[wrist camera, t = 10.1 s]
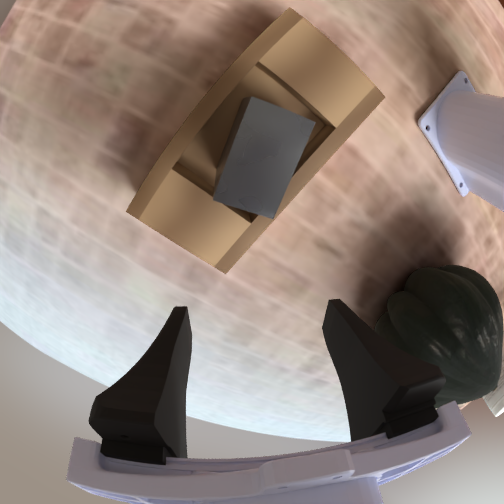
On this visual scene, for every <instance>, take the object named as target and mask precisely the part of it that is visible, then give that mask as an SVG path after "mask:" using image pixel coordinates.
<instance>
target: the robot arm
mask: <svg viewBox="0 0 504 504" xmlns="http://www.w3.org/2000/svg"><path fill="white" fill-rule="evenodd" d="M464 79H465V81H464ZM418 126H419V127H420V129H421V130H422V132H423V133H424V135H425V136H426V138H427V139H428V141H429V142H430V144H431V145H432V147H433V148H434V150H435V152H436V153H437V155H438V156H439V158H440V160H441V161H442V163H443V165H444V166H445V168H446V170H447V172H448V173H449V175H450V177H451V179H452V180H453V182H454V184H455V186H456V188H457V190H458V192H459V194H460V195H461V196H463V197H464V196H466V195H467V193H468V192H469V191H471V192H472V193H474V194H476V195H477V196H479V197H481V198H482V199H484V200H486V201H487V202H489V203H490V204H492V205H494V206H495V207H497V208H498V209H500V210H501V211H503V212H504V98H503V97H498V96H493V95H488V94H483V93H477V92H476V91H475V89H474V88H473V86H472V84H471V82H470V81H469V79H468V77H467V75H466V74H465V72H463V71H458V72H457V74H456V75H455V76H454V77H453V79H452V80H451V81H450V82H449V83H448V85H447V86H446V87H445V88H444V90H443V91H442V92H441V93H440V94H439V96H438V97H437V98H436V99H435V100H434V102H433V103H432V104H431V105H430V106H429V108H428V109H427V110H426V111H425V112H424V114H423V115H422V116H421V117H420V118H419V120H418ZM426 126H427V130H426ZM322 329H323V334H324V338H325V342H326V345H327V348H328V351H329V353H330V356H331V358H332V361H333V364H334V366H335V369H336V371H337V374H338V377H339V380H340V383H341V386H342V391H343V395H344V399H345V404H346V409H347V414H348V420H349V427H350V435H351V442H349V443H345V444H340V445H336V446H331V447H326V448H321V449H316V450H311V451H304V452H298V453H291V454H283V455H275V456H265V457H254V458H253V457H252V458H235V459H191V458H187V445H186V388H187V381H188V374H189V367H190V360H191V353H192V332H191V326H190V320H189V314H188V308H187V306H182V307H174V308H173V310H172V312H171V314H170V316H169V318H168V320H167V321H166V323H165V325H164V326H163V328H162V330H161V331H160V333H159V334H158V336H157V337H156V339H155V340H154V342H153V343H152V345H151V346H150V347H149V349H148V350H147V351H146V353H145V354H144V355H143V356H142V357H141V359H140V360H139V361H138V362H137V363H136V364H135V365H134V366H133V367H132V368H131V369H130V370H129V371H128V372H127V373H126V374H125V375H124V376H123V377H122V378H120V379H119V380H118V381H117V382H116V383H115V384H113V385H112V386H111V387H109V388H108V389H107V390H105V391H104V392H102V393H101V394H99V395H98V396H96V398H95V401H94V403H93V405H92V409H91V413H90V417H89V424H90V426H91V427H92V428H93V429H94V430H95V431H96V432H97V433H98V434H99V435H100V436H101V437H102V444H100V443H98V442H96V441H92V440H87V439H83V438H79V437H75V438H74V442H73V447H72V451H71V456H70V461H69V467H68V473H67V478H66V480H67V481H68V482H70V483H72V484H73V485H75V486H77V487H79V488H81V489H83V490H85V491H87V492H89V493H91V494H95V495H98V496H102V497H106V498H110V499H114V500H118V501H123V502H127V503H132V504H383V500H382V496H381V493H380V489H379V485H381V484H384V483H386V482H389V481H391V480H394V479H396V478H398V477H401V476H403V475H405V474H407V473H410V472H412V471H414V470H416V469H418V468H420V467H422V466H424V465H426V464H428V463H430V462H432V461H434V460H436V459H438V458H440V457H442V456H444V455H445V454H447V453H449V452H450V451H452V450H453V449H454V448H456V447H457V446H458V445H460V444H461V443H462V442H463V441H464V440H466V439H467V438H468V437H469V436H471V434H472V433H471V431H470V429H469V427H468V425H467V423H466V421H465V419H464V417H463V415H462V413H461V411H460V409H459V407H458V405H457V403H456V401H452V402H450V403H447V404H445V405H443V406H441V407H439V408H438V409H435V407H434V405H435V404H436V401H435V399H434V397H435V396H436V395H437V394H438V393H439V392H440V390H441V389H442V388H443V386H444V385H445V382H446V378H445V376H444V374H443V373H442V371H441V369H440V368H439V366H436V365H434V364H431V363H428V362H425V361H423V360H421V359H418V358H416V357H414V356H412V355H410V354H408V353H406V352H404V351H403V350H401V349H399V348H398V347H396V346H394V345H393V344H391V343H390V342H388V341H387V340H386V339H384V338H383V337H381V336H380V335H379V334H378V333H376V332H375V331H374V330H373V329H371V328H370V327H369V326H368V325H367V324H366V323H365V322H363V321H362V320H361V319H360V318H359V317H358V316H357V315H356V314H355V313H354V312H353V311H352V310H351V309H350V308H349V307H348V306H347V305H346V304H345V303H344V302H342V301H341V300H340V299H333V300H329V302H328V306H327V310H326V314H325V318H324V322H323V326H322Z"/></svg>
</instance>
